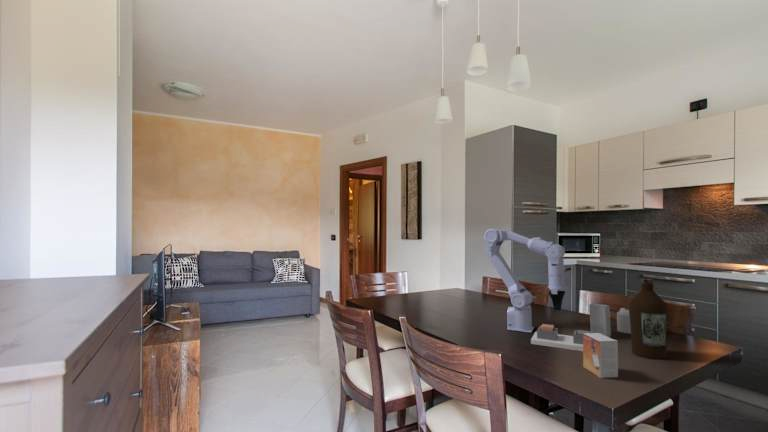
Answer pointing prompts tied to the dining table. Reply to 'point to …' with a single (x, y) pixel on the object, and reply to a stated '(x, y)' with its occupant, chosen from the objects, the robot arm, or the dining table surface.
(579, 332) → the button grey
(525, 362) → the dining table surface
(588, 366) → the small box
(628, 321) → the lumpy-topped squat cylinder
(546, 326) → the button terracotta
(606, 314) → the skincare box
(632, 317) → the olive oil
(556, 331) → the console
